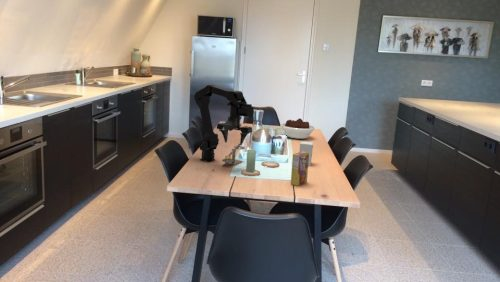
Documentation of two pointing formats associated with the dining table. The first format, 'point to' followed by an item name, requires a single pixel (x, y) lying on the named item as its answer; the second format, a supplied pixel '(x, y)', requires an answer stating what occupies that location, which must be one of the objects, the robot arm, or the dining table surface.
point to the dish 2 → (270, 164)
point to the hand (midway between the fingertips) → (233, 143)
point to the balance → (233, 157)
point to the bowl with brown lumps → (297, 129)
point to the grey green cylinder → (250, 161)
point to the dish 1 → (250, 173)
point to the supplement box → (307, 149)
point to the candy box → (299, 168)
